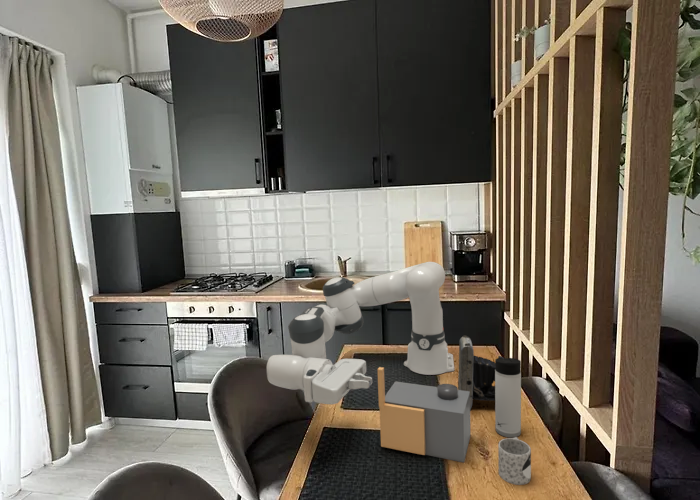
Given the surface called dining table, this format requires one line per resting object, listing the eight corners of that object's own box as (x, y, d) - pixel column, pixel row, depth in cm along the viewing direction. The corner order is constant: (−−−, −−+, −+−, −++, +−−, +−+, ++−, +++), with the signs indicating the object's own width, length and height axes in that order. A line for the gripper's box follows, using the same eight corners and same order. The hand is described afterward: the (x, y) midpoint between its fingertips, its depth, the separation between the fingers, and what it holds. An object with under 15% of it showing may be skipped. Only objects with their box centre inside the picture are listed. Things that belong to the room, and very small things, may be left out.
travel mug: (498, 438, 105) (498, 363, 103) (493, 424, 111) (492, 353, 109) (524, 439, 104) (524, 363, 102) (517, 425, 110) (517, 354, 108)
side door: (382, 444, 103) (379, 367, 101) (425, 452, 98) (423, 372, 96) (380, 447, 101) (377, 369, 99) (424, 456, 97) (422, 374, 95)
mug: (530, 488, 86) (530, 458, 85) (497, 480, 89) (496, 451, 88) (531, 461, 95) (531, 433, 94) (501, 454, 98) (501, 428, 97)
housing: (396, 422, 114) (395, 374, 113) (470, 435, 106) (469, 384, 105) (382, 446, 103) (380, 393, 102) (464, 463, 95) (463, 405, 94)
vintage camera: (515, 415, 116) (517, 347, 115) (459, 410, 120) (460, 344, 118) (508, 399, 126) (511, 337, 124) (457, 395, 129) (458, 334, 127)
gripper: (338, 372, 117) (384, 378, 111) (302, 405, 98) (355, 414, 92) (337, 350, 116) (383, 356, 110) (300, 379, 97) (354, 387, 92)
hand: (370, 382), depth 101 cm, fingers closed
